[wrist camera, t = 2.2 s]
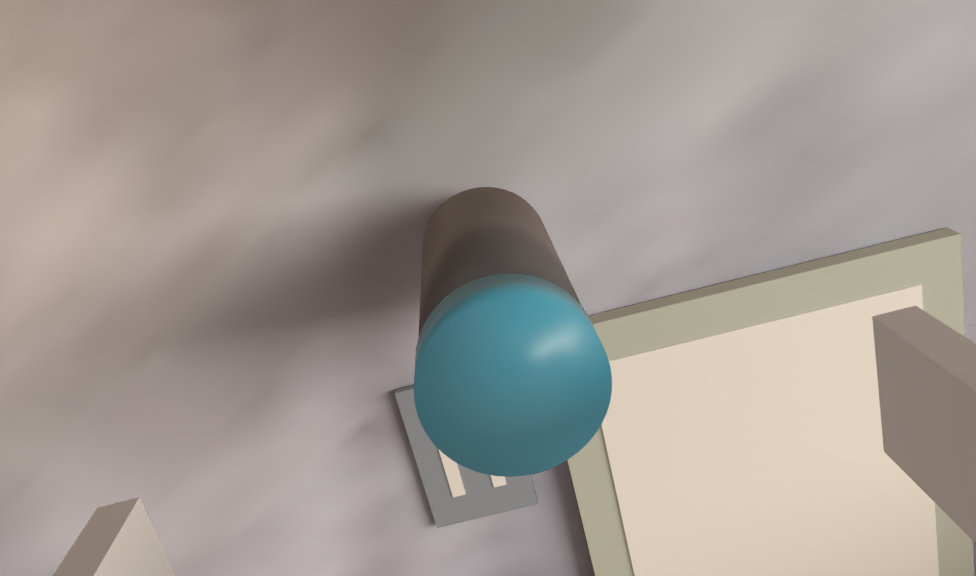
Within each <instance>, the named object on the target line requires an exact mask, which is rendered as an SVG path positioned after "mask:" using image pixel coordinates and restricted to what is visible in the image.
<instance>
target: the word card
mask: <svg viewBox="0 0 976 576" xmlns="http://www.w3.org/2000/svg"><path fill="white" fill-rule="evenodd" d="M394 394H395V397H396V400H397V403H398V406H399V409H400V413H401V416H402V419H403V422H404V425H405V428H406V432H407V435H408V438H409V441H410V444H411V447H412V451H413V454H414V457H415V460H416V463H417V467H418V470H419V473H420V476H421V479H422V482H423V486H424V489H425V492H426V495H427V498H428V501H429V505H430V508H431V511H432V514H433V517H434V520H435V524H436V527H437V528H439V527H443V526H447V525H451V524H455V523H460V522H464V521H468V520H472V519H476V518H480V517H485V516H489V515H493V514H497V513H501V512H505V511H509V510H514V509H518V508H522V507H526V506H530V505H534V504H538V503H537V498H536V495H535V491H534V487H533V483H532V479H531V475H525V476H515V477H503V476H493V475H487V474H483V473H479V472H476V471H473V470H470V469H468V468H466V467H463V466H461V465H460V464H458V463H456V462H454V461H453V460H451V459H450V458H449V457H447V456H446V455H445V454H443V453H442V452H441V451H440V450H439V449H438V448H437V447H436V446H435V445H434V444H433V442H432V441H431V440H430V438H429V437H428V436H427V434H426V432H425V431H424V429H423V427H422V425H421V423H420V420H419V418H418V415H417V411H416V407H415V401H414V385H411V386H407V387H403V388H399V389H395V393H394Z"/></svg>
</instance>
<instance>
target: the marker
mask: <svg viewBox="0 0 976 576" xmlns="http://www.w3.org/2000/svg"><path fill="white" fill-rule="evenodd" d="M611 393H612V374H611V367H610V363H609V360H608V356H607V354H606V352H605V350H604V347H603V345H602V343H601V341H600V339H599V337H598V335H597V333H596V330H595V328H594V326H593V324H592V322H591V320H590V318H589V316H588V315H587V313H586V311H585V310H584V308H583V307H582V306H581V304H580V302H579V300H578V297H577V295H576V293H575V291H574V289H573V287H572V285H571V282H570V280H569V278H568V276H567V274H566V272H565V270H564V267H563V265H562V263H561V261H560V259H559V257H558V255H557V252H556V250H555V248H554V246H553V244H552V242H551V240H550V237H549V235H548V233H547V231H546V229H545V227H544V225H543V222H542V220H541V218H540V217H539V215H538V214H537V212H536V211H535V210H534V208H533V207H532V206H531V205H530V204H529V203H528V202H527V201H525V200H524V199H523V198H521V197H520V196H518V195H516V194H514V193H512V192H509V191H507V190H504V189H499V188H492V187H480V188H474V189H469V190H466V191H463V192H461V193H458V194H456V195H454V196H453V197H451V198H450V199H448V200H447V201H446V202H444V203H443V204H442V205H441V206H440V207H439V208H438V209H437V210H436V212H435V213H434V215H433V216H432V217H431V219H430V221H429V223H428V225H427V228H426V231H425V235H424V239H423V254H422V276H421V298H420V319H419V338H418V343H417V347H416V358H415V376H414V401H415V407H416V411H417V415H418V418H419V420H420V423H421V425H422V427H423V429H424V431H425V432H426V434H427V436H428V437H429V438H430V440H431V441H432V442H433V444H434V445H435V446H436V447H437V448H438V449H439V450H440V451H441V452H442V453H443V454H445V455H446V456H447V457H449V458H450V459H451V460H453V461H454V462H456V463H458V464H460V465H461V466H463V467H466V468H468V469H470V470H473V471H476V472H479V473H483V474H487V475H493V476H503V477H515V476H525V475H531V474H536V473H539V472H542V471H546V470H548V469H551V468H553V467H555V466H558V465H559V464H561V463H563V462H565V461H566V460H568V459H570V458H571V457H572V456H574V455H575V454H576V453H578V452H579V451H580V450H581V449H582V448H583V447H584V446H585V445H586V444H588V442H589V441H590V440H591V439H592V438H593V436H594V435H595V434H596V432H597V431H598V429H599V428H600V426H601V424H602V422H603V420H604V418H605V416H606V414H607V411H608V407H609V404H610V400H611Z"/></svg>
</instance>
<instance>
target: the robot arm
mask: <svg viewBox="0 0 976 576" xmlns="http://www.w3.org/2000/svg"><path fill="white" fill-rule="evenodd" d="M872 320H873V332H874V343H875V355H876V366H877V378H878V389H879V401H880V413H881V424H882V436H883V447H884V452H885V453H886V454H887V455H888V456H889V457H890V458H891V459H892V460H893V461H894V462H895V463H896V464H897V465H898V466H899V467H900V468H901V469H902V470H903V471H904V472H905V473H906V474H907V475H908V476H909V477H910V478H911V479H912V480H913V481H914V482H915V483H916V484H917V485H918V486H919V487H920V488H921V489H922V490H923V491H924V492H925V493H926V494H927V495H928V496H929V497H930V498H931V499H932V500H933V501H934V502H935V503H936V504H937V505H938V506H939V507H940V508H941V509H942V510H943V511H944V512H945V513H946V514H947V515H948V516H949V517H950V518H951V519H952V520H953V521H954V522H955V523H956V524H957V525H958V526H959V527H960V528H961V529H962V531H963V532H964V533H965V534H966V535H967V536H968V537H969V538H970V539H971V540H972V541H973V542H974V543H975V544H976V344H975V343H974V342H972V341H971V340H969V339H967V338H966V337H964V336H963V335H961V334H960V333H958V332H956V331H955V330H953V329H952V328H950V327H949V326H947V325H945V324H944V323H942V322H941V321H939V320H938V319H936V318H934V317H933V316H931V315H930V314H928V313H927V312H925V311H923V310H922V309H920V308H919V307H917V306H912V307H908V308H904V309H900V310H896V311H892V312H888V313H884V314H880V315H876V316H872ZM53 576H175V575H174V572H173V570H172V568H171V566H170V564H169V561H168V559H167V557H166V555H165V553H164V551H163V548H162V546H161V544H160V542H159V540H158V537H157V535H156V533H155V531H154V529H153V526H152V524H151V522H150V520H149V518H148V515H147V513H146V511H145V509H144V507H143V504H142V502H141V500H140V498H135V499H131V500H127V501H123V502H119V503H115V504H111V505H107V506H103V507H99V508H97V509H96V511H95V512H94V514H93V515H92V517H91V518H90V520H89V521H88V523H87V524H86V526H85V527H84V529H83V530H82V532H81V534H80V535H79V537H78V538H77V540H76V541H75V543H74V544H73V546H72V547H71V549H70V550H69V552H68V553H67V555H66V556H65V558H64V560H63V561H62V563H61V564H60V566H59V567H58V569H57V570H56V572H55V573H54V575H53Z"/></svg>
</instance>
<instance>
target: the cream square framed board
mask: <svg viewBox="0 0 976 576" xmlns="http://www.w3.org/2000/svg"><path fill="white" fill-rule="evenodd" d="M912 306H917V307H919V308H920V309H922V310H923V311H925V312H927V313H928V314H930V315H931V316H933V317H934V318H936V319H938V320H939V321H941V322H942V323H944V324H945V325H947V326H949V327H950V328H952V329H953V330H955V331H956V332H958V333H960V334H961V335H963V336H964V337H965V331H964V306H963V281H962V257H961V234H960V233H958V232H956V231H953V230H951V229H949V228H943V229H939V230H935V231H931V232H927V233H923V234H919V235H915V236H911V237H907V238H903V239H899V240H894V241H890V242H886V243H882V244H878V245H874V246H870V247H866V248H862V249H858V250H854V251H850V252H846V253H842V254H838V255H834V256H830V257H825V258H821V259H817V260H813V261H809V262H805V263H801V264H797V265H793V266H789V267H785V268H781V269H777V270H773V271H769V272H765V273H761V274H756V275H752V276H748V277H744V278H740V279H736V280H732V281H728V282H724V283H720V284H716V285H712V286H708V287H704V288H700V289H696V290H692V291H687V292H683V293H679V294H675V295H671V296H667V297H663V298H659V299H655V300H651V301H647V302H643V303H639V304H635V305H631V306H627V307H623V308H618V309H614V310H610V311H606V312H602V313H598V314H594V315H590V316H589V318H590V320H591V322H592V324H593V326H594V328H595V330H596V333H597V335H598V337H599V339H600V341H601V343H602V345H603V347H604V350H605V352H606V354H607V356H608V360H609V363H610V367H611V374H612V393H611V400H610V404H609V407H608V411H607V414H606V416H605V418H604V420H603V422H602V424H601V426H600V428H599V429H598V431H597V432H596V434H595V435H594V436H593V438H592V439H591V440H590V441H589V442H588V444H586V445H585V446H584V447H583V448H582V449H581V450H580V451H579V452H578V453H576V454H575V455H574V456H572V457H571V458H570V459H568V460H567V462H568V466H569V470H570V474H571V478H572V483H573V487H574V491H575V495H576V499H577V503H578V508H579V512H580V516H581V520H582V524H583V528H584V533H585V537H586V541H587V545H588V549H589V553H590V558H591V562H592V566H593V570H594V574H595V576H974V551H973V541H972V540H971V539H970V538H969V537H968V536H967V535H966V534H965V533H964V532H963V531H962V529H961V528H960V527H959V526H958V525H957V524H956V523H955V522H954V521H953V520H952V519H951V518H950V517H949V516H948V515H947V514H946V513H945V512H944V511H943V510H942V509H941V508H940V507H939V506H938V505H937V504H936V503H935V502H934V501H933V500H932V499H931V498H930V497H929V496H928V495H927V494H926V493H925V492H924V491H923V490H922V489H921V488H920V487H919V486H918V485H917V484H916V483H915V482H914V481H913V480H912V479H911V478H910V477H909V476H908V475H907V474H906V473H905V472H904V471H903V470H902V469H901V468H900V467H899V466H898V465H897V464H896V463H895V462H894V461H893V460H892V459H891V458H890V457H889V456H888V455H887V454H886V453H885V452H884V447H883V436H882V424H881V413H880V401H879V389H878V378H877V366H876V355H875V343H874V332H873V320H872V316H876V315H880V314H884V313H888V312H892V311H896V310H900V309H904V308H908V307H912Z"/></svg>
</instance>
